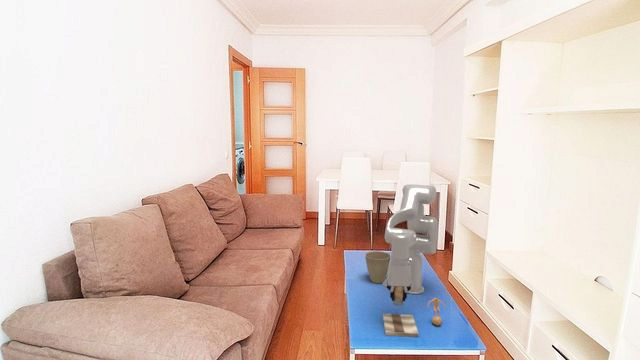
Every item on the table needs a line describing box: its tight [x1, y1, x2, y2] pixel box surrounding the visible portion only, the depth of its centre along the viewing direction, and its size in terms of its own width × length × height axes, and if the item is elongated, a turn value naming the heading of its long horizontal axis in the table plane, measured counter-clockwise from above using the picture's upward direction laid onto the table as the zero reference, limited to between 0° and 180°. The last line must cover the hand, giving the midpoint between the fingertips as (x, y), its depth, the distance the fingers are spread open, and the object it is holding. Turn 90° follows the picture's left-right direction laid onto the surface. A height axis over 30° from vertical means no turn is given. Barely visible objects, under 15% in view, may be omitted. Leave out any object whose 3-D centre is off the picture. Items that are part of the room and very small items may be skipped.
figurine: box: [426, 297, 446, 326], centre depth 165 cm, size 8×6×12 cm
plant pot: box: [364, 250, 391, 284], centre depth 213 cm, size 15×15×16 cm
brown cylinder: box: [392, 286, 404, 307], centre depth 161 cm, size 4×4×9 cm
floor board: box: [382, 313, 420, 338], centre depth 164 cm, size 16×14×2 cm
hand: (398, 299), depth 162 cm, fingers closed on brown cylinder, 4 cm apart
